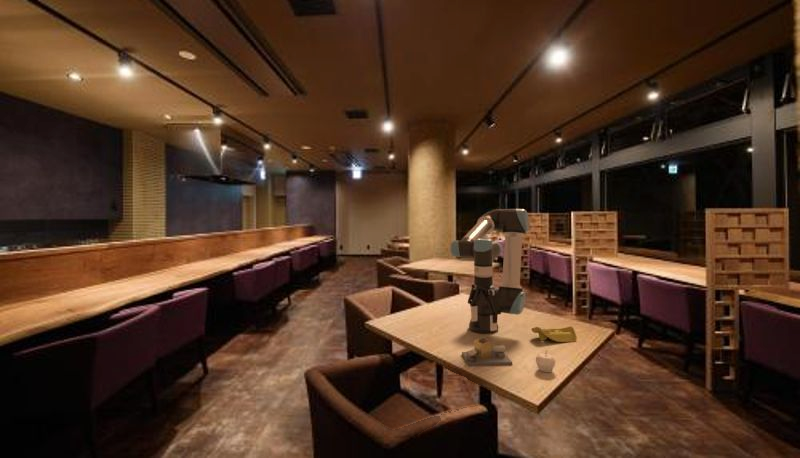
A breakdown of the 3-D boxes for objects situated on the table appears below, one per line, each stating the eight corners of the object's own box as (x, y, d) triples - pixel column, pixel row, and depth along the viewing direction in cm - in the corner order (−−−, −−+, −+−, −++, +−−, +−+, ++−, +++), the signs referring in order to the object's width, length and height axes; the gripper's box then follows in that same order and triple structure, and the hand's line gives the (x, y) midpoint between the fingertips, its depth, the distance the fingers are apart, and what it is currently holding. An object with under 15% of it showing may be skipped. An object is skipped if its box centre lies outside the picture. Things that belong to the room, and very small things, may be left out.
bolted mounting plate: (502, 353, 159) (502, 341, 159) (512, 364, 147) (512, 351, 147) (461, 354, 158) (461, 342, 158) (468, 366, 146) (468, 353, 146)
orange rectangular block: (483, 353, 157) (483, 337, 156) (490, 357, 152) (490, 340, 152) (474, 354, 155) (474, 338, 155) (481, 359, 150) (481, 342, 150)
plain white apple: (558, 374, 139) (559, 353, 138) (540, 374, 138) (541, 354, 138) (549, 366, 146) (550, 346, 145) (532, 367, 145) (532, 347, 145)
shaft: (473, 356, 153) (473, 347, 153) (480, 359, 150) (480, 349, 150) (465, 359, 150) (465, 350, 150) (472, 362, 147) (472, 352, 147)
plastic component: (560, 329, 186) (574, 325, 177) (564, 344, 183) (578, 341, 174) (527, 329, 181) (539, 326, 172) (530, 345, 178) (542, 342, 169)
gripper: (459, 271, 162) (460, 318, 164) (494, 281, 139) (494, 336, 141) (473, 270, 165) (474, 316, 167) (510, 280, 142) (510, 333, 144)
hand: (483, 325), depth 154 cm, fingers open, 13 cm apart
